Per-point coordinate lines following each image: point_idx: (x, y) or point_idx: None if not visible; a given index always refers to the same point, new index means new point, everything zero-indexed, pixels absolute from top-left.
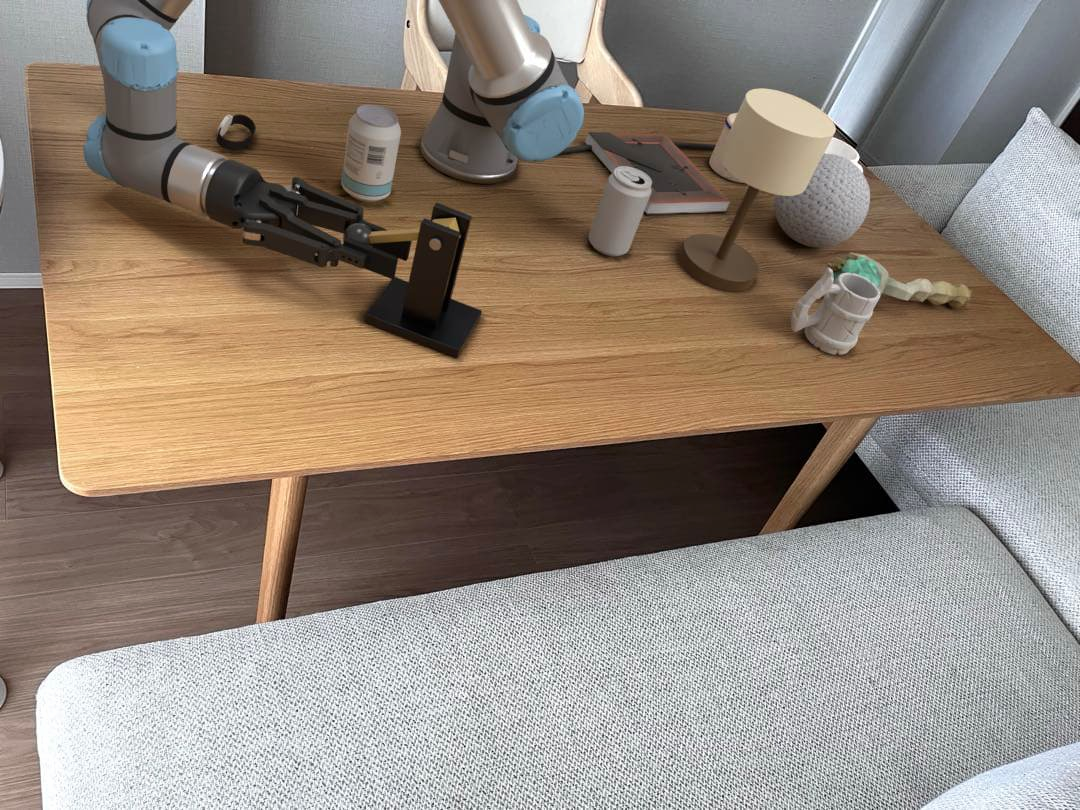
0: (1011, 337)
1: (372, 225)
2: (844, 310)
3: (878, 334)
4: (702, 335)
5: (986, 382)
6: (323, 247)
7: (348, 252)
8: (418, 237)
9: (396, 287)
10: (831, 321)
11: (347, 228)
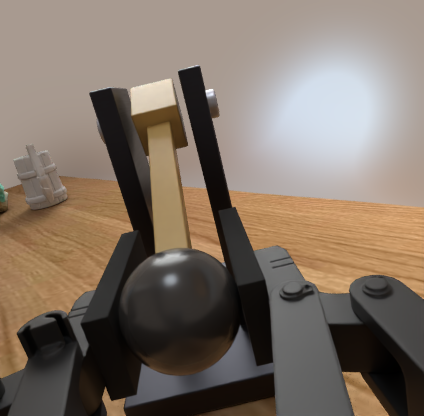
0: (16, 189)
1: (100, 291)
2: (50, 165)
3: None
4: (75, 220)
5: (65, 180)
6: (385, 281)
7: (294, 270)
8: (209, 111)
9: (167, 378)
10: (52, 178)
11: (186, 298)
